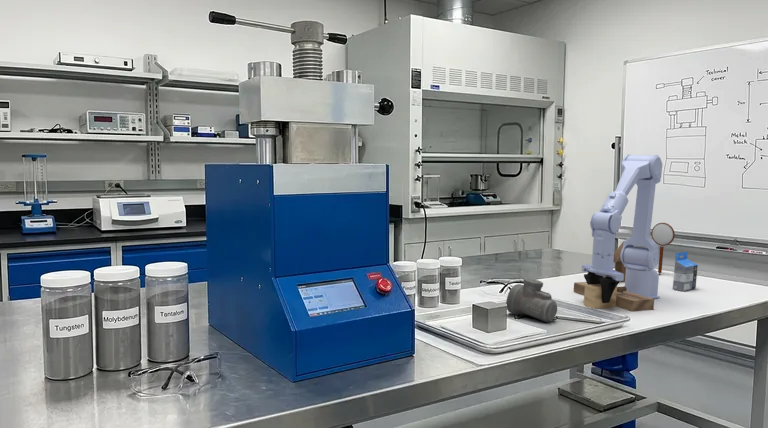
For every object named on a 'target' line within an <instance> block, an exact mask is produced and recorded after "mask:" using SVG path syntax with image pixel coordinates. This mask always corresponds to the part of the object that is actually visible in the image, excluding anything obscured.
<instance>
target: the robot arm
mask: <svg viewBox="0 0 768 428" xmlns="http://www.w3.org/2000/svg"><path fill="white" fill-rule="evenodd" d="M662 172H663V162H662V159H661V157H660V155H659V154H653V155H652V154H651V155H650V154H647V155H646V154H626V155H624V157H623V159H622V161H621V173H622V174H621V176H620V179H619V180H618V182H617V185H616V188H615V190H614V191H613V190H612V191H610V192H609V193H608V194H607V197H606V198H605V200H604V202H603V204H602V206H601V208H600V209H599V210H598V211H596V212H595V213H593V214H592V216H591V218H590V222H589V223H590V229H591V236H592V238H593V241H592V242H593V243H592V255H591V257H592V258H591V264H588V263H587V264H581V272H587V273H585V274H583V278H584V279H585V282H587V284H588V285H590V284H601V289H602V303H609V302H610V299H611V296H612V294H613V291H614V289H615V288H616V286H617V287H618V285H619V284H620V283H621V282H620V281H623V280H624V274H622V273H619V272H617V271H615V269H614V262H613V261H614V252H615V248H616V247H615V245H616V243H615V242H616V233H617V232H618V231H619V230H620V228H621V222H622V218H623V213H624V211H625V209H626V207H627V205H628V203H629V199H628V195H629V194H630V192H631V191H632V189H633V188H634V186H635V185H636V186H637V187H636V188H637V190H636V198H635V199H636V200H635V207H634V214H633V215H634V217H633V224H632V225H633V226H632V234H631V235H632V236H631V237H628V238H627V239H625V240H623V241H624V244H623V248H622V250H621V254H620V258H621V261H622V263H623V264H624V267H626V275H625V282H624V286H625V287H626V288H627V290H626V291H628V292H632V293H635V294H639V295H642V296H645V297H649V298H652V299H657V298H658V299H659V298H660V296H659V295H658V294H659V292H658V291H659V280H660V279H659V278H660V277H659V276H660V275H659V273H658V270H656V269H655V268H656V267H657V266H658V265H659V254H660V252H659V245H658V244H657V243H655V242H654V240H653V239H652V238H651V231H652V229H651V228H652V219H653V211H654V202H655V193H656V185H657V184H659V183H660V182H661V178H662ZM603 276H604V277H605V278H603Z"/></svg>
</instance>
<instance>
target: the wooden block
mask: <svg viewBox="0 0 768 428" xmlns="http://www.w3.org/2000/svg"><path fill="white" fill-rule="evenodd" d="M624 241H625V240H623V241H622V242H621V244H620V245H619V246H618V247H617V249H616V250H614V261H613V263H615V265H614V270H615V271H617V272H619V273H622V274H624V280H623V281H620V282H619V283H625V275H626V267H624V264H623V263H622V261H621V258H620V254H621V250H622V248H623V244H624ZM603 278H605V277H604V276H603Z"/></svg>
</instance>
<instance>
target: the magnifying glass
mask: <svg viewBox="0 0 768 428" xmlns="http://www.w3.org/2000/svg"><path fill="white" fill-rule="evenodd" d="M675 235H676V234H675V230H674V228H673V227H672V226H671V225H670V224H669V223H667V222H659V223H657V224H655V225H654V226H653V227H652V229H651V232H650V236H651V237H652V238H651V239H652V240H653V241H654V242H655V243H657V245H658V246H659V262H658V267H657V268H658V270H657V273H658V275H659V274H662V271H663V269H662V268H663V262H664V261H663V259H664V246H665V247H666V246H668V245H670V244H671V243H673V241H674V239H675Z"/></svg>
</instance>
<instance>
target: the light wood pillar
mask: <svg viewBox="0 0 768 428" xmlns="http://www.w3.org/2000/svg"><path fill="white" fill-rule="evenodd" d="M626 290H627V288H626V287H625V285H624V286H618V285H617V286H616V288H615V289H614V291H613V294H612V296H611V299H610V302H609V303H602V289H601V284H590V285H585V292H584V295H583V297H584V298H583V306H584V305H585V307H587V306H588V308H590V307H591V308H590V309H593V308H597V309H608V308H616V307H617V306H616V295H617V292H621V293H623V291H626Z"/></svg>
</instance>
